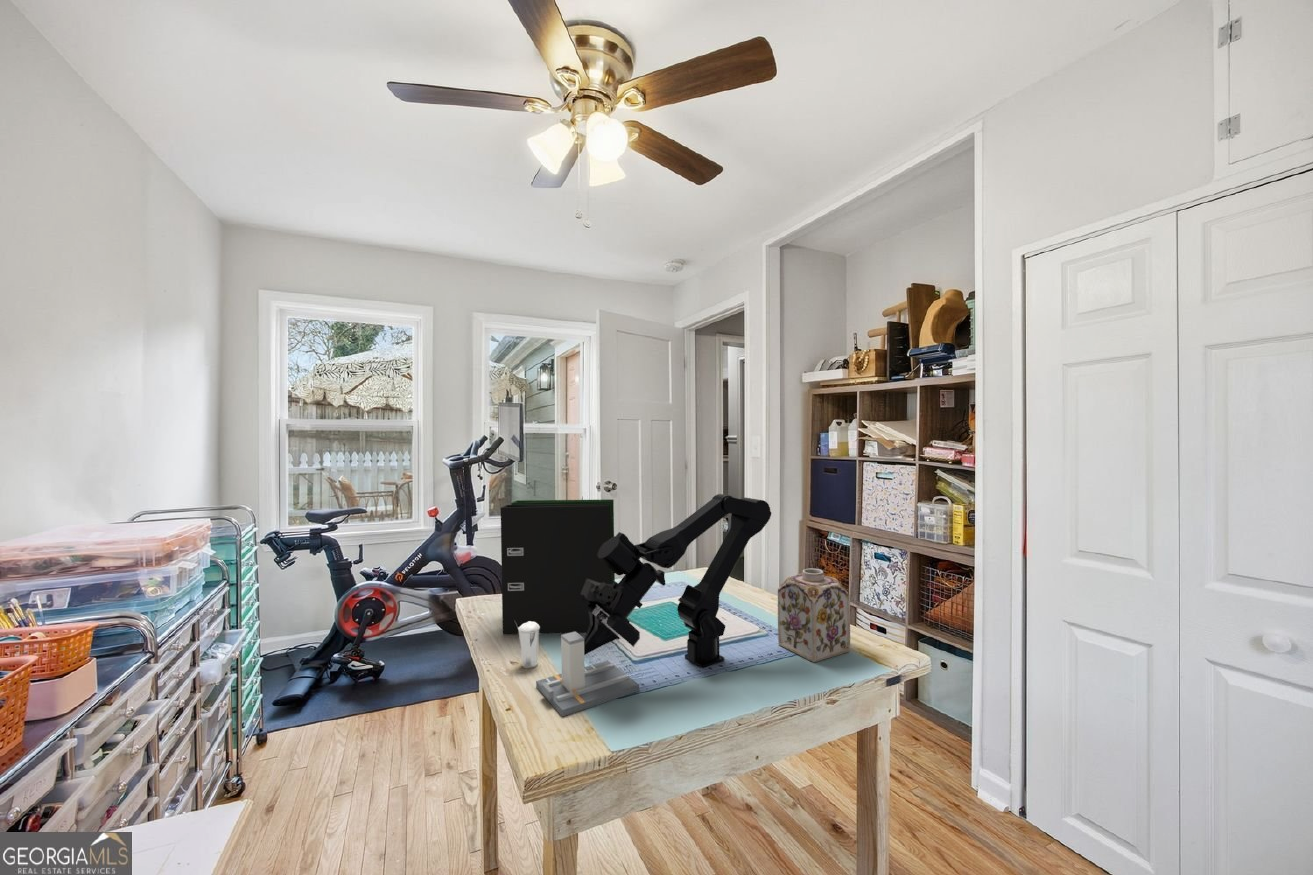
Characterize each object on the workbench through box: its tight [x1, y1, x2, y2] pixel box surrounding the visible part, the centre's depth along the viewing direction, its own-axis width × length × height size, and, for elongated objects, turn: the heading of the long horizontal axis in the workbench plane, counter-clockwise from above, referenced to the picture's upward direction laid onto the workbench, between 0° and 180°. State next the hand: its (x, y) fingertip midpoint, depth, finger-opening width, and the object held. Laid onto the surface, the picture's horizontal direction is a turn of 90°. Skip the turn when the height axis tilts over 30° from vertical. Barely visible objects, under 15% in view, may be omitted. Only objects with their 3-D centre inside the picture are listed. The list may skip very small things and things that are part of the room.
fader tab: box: [560, 632, 586, 692], centre depth 99 cm, size 3×4×10 cm
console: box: [535, 660, 640, 717], centre depth 100 cm, size 17×13×3 cm
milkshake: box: [514, 620, 540, 669], centre depth 111 cm, size 4×5×10 cm
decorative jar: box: [777, 568, 851, 663], centre depth 117 cm, size 12×12×18 cm
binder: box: [500, 499, 616, 636], centre depth 135 cm, size 27×15×32 cm, turn 89°
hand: (580, 653), depth 100 cm, fingers closed
